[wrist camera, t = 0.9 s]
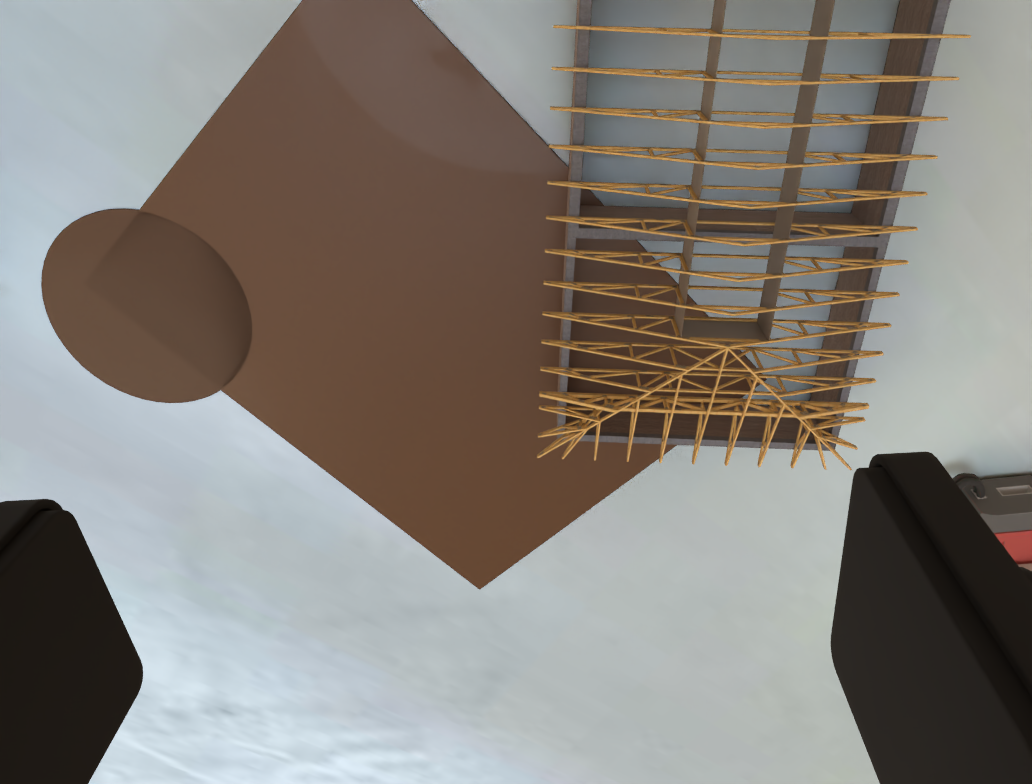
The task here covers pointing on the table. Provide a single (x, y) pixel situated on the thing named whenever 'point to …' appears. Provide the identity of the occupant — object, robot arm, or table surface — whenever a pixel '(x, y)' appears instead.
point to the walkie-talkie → (1004, 511)
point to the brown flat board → (376, 286)
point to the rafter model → (856, 231)
